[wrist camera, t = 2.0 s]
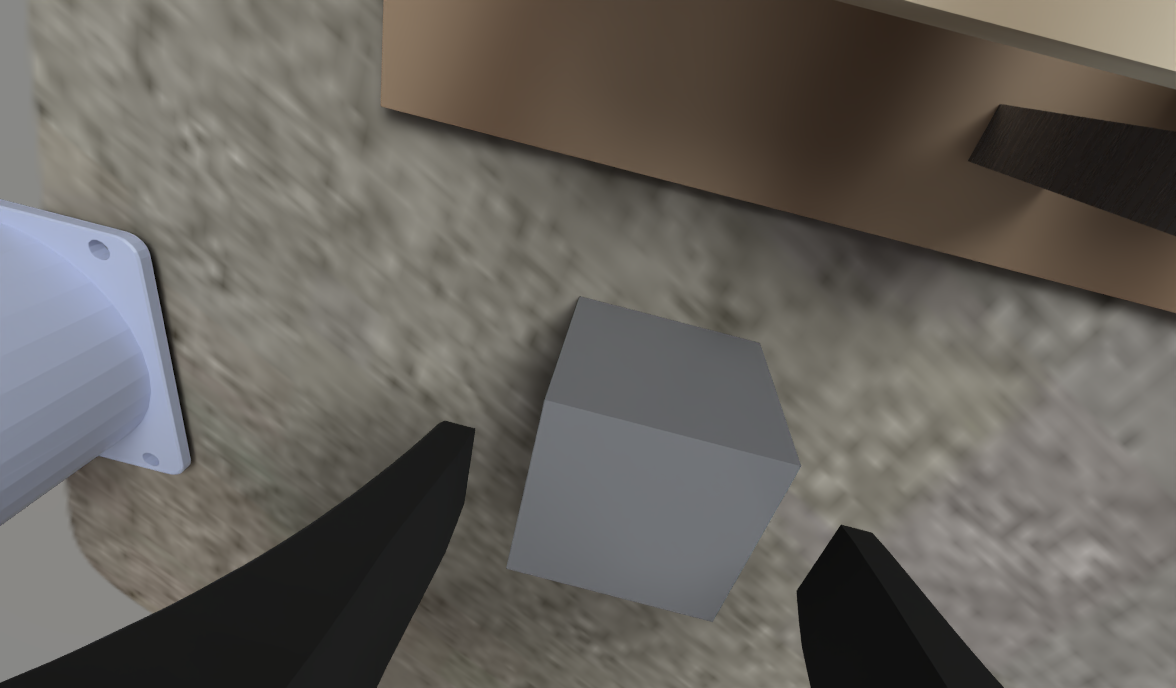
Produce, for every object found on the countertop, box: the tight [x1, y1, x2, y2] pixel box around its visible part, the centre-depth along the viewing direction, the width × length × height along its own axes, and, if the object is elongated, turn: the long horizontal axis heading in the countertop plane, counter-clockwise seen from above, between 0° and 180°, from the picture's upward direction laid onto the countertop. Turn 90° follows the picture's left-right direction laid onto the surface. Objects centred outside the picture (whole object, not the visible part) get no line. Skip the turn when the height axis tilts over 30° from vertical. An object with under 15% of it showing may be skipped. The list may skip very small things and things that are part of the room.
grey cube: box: [506, 296, 801, 622], centre depth 12 cm, size 4×4×4 cm
